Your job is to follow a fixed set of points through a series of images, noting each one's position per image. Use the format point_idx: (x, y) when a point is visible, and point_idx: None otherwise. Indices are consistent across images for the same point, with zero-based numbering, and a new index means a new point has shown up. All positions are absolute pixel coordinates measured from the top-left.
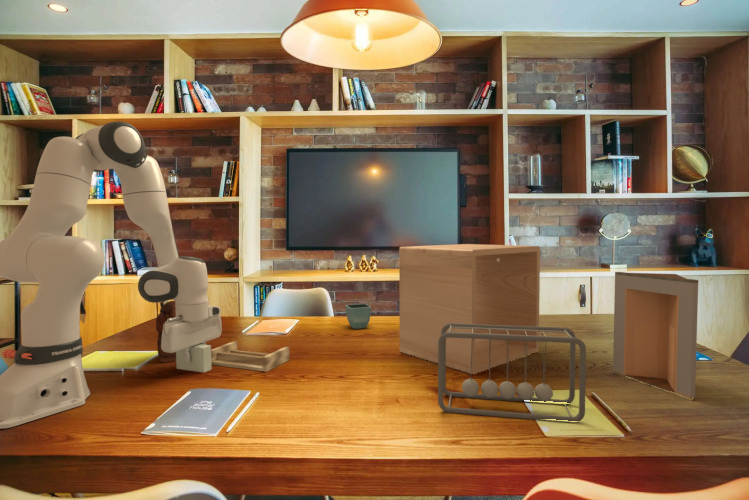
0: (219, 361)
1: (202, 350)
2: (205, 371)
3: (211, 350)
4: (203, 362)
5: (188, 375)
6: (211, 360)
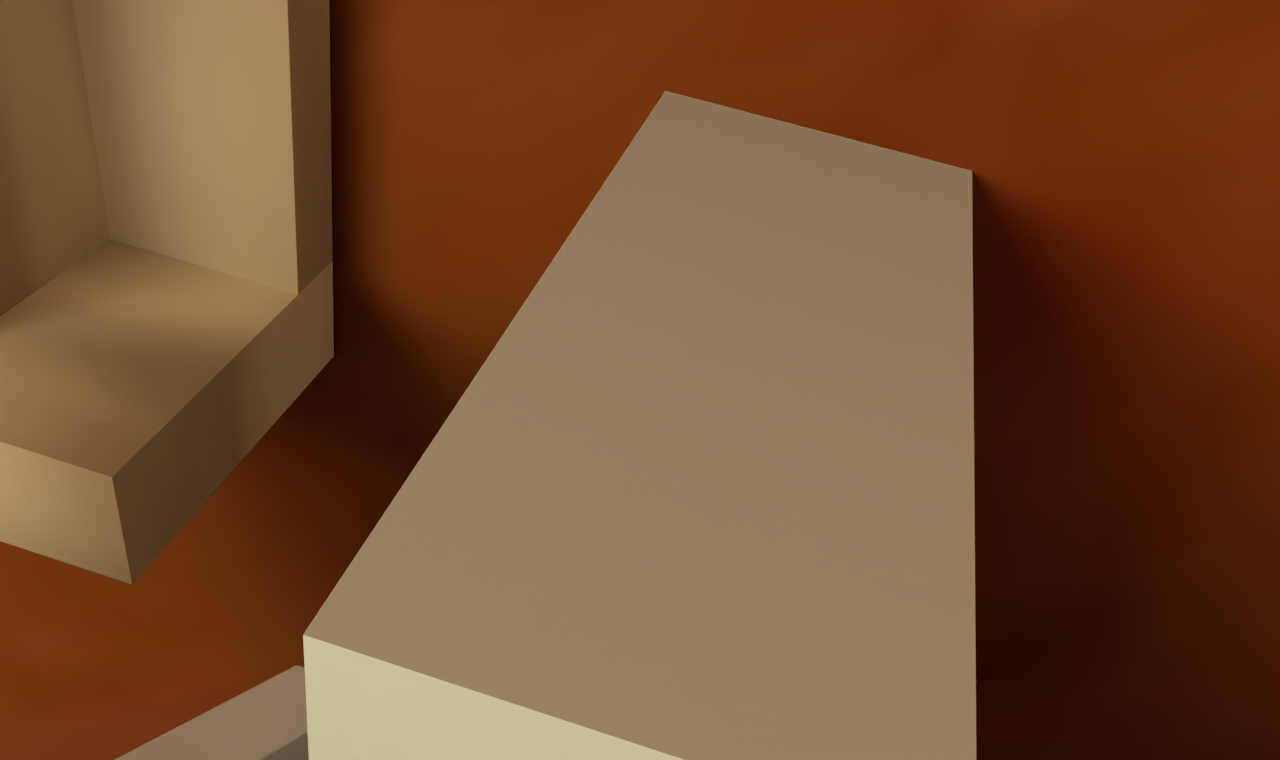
0: (186, 103)
1: (943, 757)
2: (909, 162)
3: (43, 501)
4: (960, 346)
5: (1227, 458)
6: (278, 316)
